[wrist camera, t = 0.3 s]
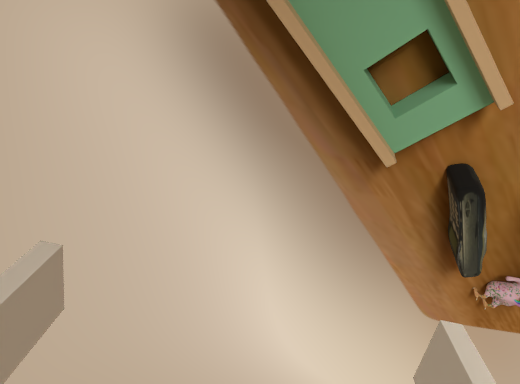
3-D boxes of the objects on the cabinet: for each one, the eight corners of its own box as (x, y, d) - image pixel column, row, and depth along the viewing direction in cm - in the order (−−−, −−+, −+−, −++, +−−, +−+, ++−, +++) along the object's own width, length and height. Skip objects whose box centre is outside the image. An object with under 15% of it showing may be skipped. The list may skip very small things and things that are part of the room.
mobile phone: (453, 192, 37) (460, 293, 45) (488, 186, 36) (490, 290, 44) (440, 163, 41) (449, 261, 49) (472, 156, 40) (476, 257, 48)
